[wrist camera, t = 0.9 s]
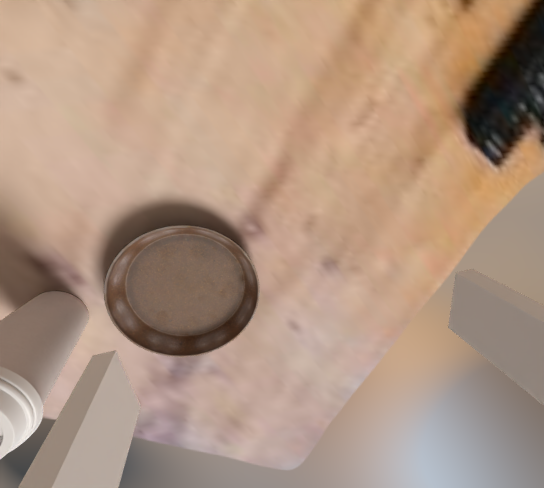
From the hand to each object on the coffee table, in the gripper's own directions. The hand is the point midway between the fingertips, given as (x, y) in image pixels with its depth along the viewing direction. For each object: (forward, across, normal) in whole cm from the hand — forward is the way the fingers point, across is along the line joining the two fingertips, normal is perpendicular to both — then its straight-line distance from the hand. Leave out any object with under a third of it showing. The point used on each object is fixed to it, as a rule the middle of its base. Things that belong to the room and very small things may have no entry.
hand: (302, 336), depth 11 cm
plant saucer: (+25, -9, -10) cm, 28 cm away
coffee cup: (+24, -24, -10) cm, 36 cm away
